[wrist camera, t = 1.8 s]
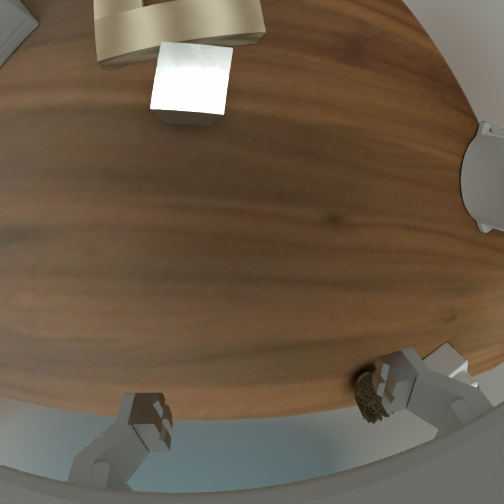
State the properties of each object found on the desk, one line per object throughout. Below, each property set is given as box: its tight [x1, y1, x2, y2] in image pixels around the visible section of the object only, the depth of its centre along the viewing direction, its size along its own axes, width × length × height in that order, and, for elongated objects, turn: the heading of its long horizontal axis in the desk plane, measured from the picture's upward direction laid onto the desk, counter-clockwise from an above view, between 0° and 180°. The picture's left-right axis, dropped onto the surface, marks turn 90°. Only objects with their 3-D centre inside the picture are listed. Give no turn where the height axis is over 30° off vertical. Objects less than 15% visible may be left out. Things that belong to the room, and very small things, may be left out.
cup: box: [355, 369, 394, 424], centre depth 44 cm, size 8×7×8 cm
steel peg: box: [150, 42, 233, 127], centre depth 23 cm, size 4×4×14 cm
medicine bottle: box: [422, 342, 479, 388], centre depth 46 cm, size 7×7×12 cm
